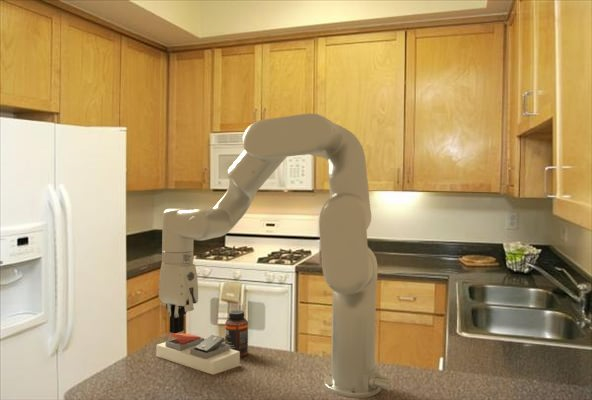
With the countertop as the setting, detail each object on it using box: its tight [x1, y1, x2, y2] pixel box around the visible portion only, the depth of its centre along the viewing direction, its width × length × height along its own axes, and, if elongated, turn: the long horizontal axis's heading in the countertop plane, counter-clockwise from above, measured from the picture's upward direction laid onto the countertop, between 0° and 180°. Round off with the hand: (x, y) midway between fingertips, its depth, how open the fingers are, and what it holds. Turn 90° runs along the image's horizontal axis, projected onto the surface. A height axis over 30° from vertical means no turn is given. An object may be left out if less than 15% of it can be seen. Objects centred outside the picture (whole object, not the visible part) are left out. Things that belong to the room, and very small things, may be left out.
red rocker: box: [170, 332, 201, 344], centre depth 117 cm, size 4×6×2 cm, turn 145°
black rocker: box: [195, 334, 225, 353], centre depth 111 cm, size 4×6×2 cm, turn 145°
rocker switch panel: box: [155, 336, 241, 375], centre depth 114 cm, size 20×9×5 cm, turn 55°
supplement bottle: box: [224, 309, 249, 358], centre depth 121 cm, size 6×6×11 cm
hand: (176, 331), depth 115 cm, fingers closed
